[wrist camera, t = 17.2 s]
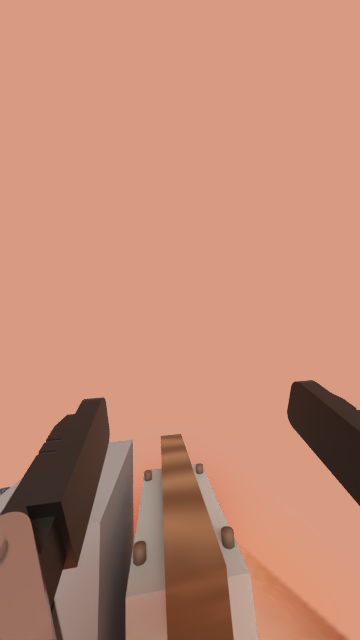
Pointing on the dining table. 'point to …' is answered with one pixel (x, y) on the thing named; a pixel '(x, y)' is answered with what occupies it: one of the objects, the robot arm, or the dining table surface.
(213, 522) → the stand
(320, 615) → the dining table surface
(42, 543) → the robot arm
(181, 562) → the batten
